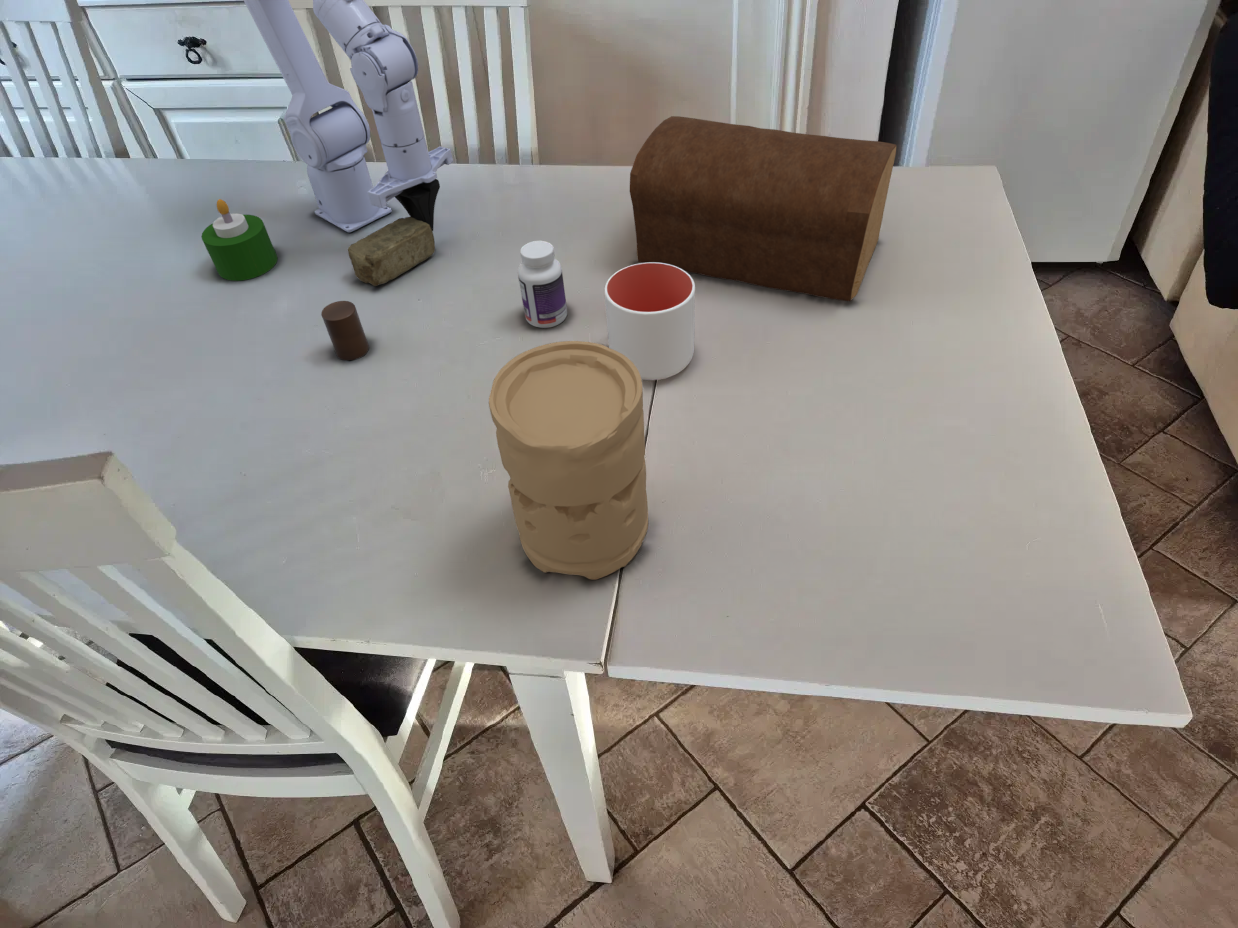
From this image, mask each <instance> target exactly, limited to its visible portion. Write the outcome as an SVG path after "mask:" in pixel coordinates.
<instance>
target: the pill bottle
mask: <svg viewBox="0 0 1238 928" xmlns="http://www.w3.org/2000/svg"><path fill="white" fill-rule="evenodd" d="M519 251H520V258H521V263H520V264H519V266H518V267H517V276H518V277H517V278H518V282H519V289H520V295H521V300H522V306H523V311H524V317H525V321H526V322H527V323H528V324H529V325H531V326H533V327H536V328H541V329H543V328H544V329H546V328H552V327H553V328H554V327H556V326H558V325H560V324H562V322H564V321H565V320H566V318H567V315H568V306H567V299H566V290H565V285H564V284H565V283H564V276H563V268H562V267H563V266H562V264H561V263H560V261H559V260H558V259H556V258H555V257H556V255H555V247H554V245H553V244H552V243H550V242H549V241H546V240H534V241H533V240H532V241H530V242H527V243H525V244H524V245H523V246H522V247H521V248H520V250H519Z"/></svg>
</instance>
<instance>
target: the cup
mask: <svg viewBox="0 0 1238 928" xmlns="http://www.w3.org/2000/svg"><path fill="white" fill-rule="evenodd" d="M603 290H604V303H605V315H606V316H605V317H606V330H607V341H608V342H607V343H608V348H610V349H613V350H615V351H617V352H619V353H621V354H623V355H625V356H626V357H627V358H628V359H629V360H631V361H632V362H633V364H634V365H635V366H636V368H637V369H638V371H639V374H640V376H641V381H658V380H659V381H660V380H665V379H668V378H671V377H673V376H675V375H677V374H679V373H680V372H682V371H683V370H684V369H685V368H686V367H688V365H689V364H690V363H691V361H692V360H693V356H694V352H695V326H696V325H695V323H696V321H695V320H696V319H695V318H696V317H695V316H696V283H695V280H694V279H693V277H692V275H690V274H689V272H687V271H684V270H682V269H681V268H678V267H676V266H673V265H670V264H665V263H656V262H648V263H641V262H638V263H635V264H631V265H628V266H625V267H623V268H621V269H619V270H617V271H615V273H613V274H612V275H611V276H609V278H608V279H607V281H606V282H605V285H604V289H603Z"/></svg>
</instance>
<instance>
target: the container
mask: <svg viewBox="0 0 1238 928" xmlns="http://www.w3.org/2000/svg"><path fill="white" fill-rule="evenodd" d="M642 381H643V380H642V379H641V376H640V374H639V371H638V369H637V368H636V366H635V365H634V364H633V362H632V361H631V360H629V359H628V358H627V357H626V356H625V355H623V354H621V353H619V352H617V351H615V350H613V349H610V348H609V346H606V345H604V344H601V343H598V342H597V343H596V342H591V341H583V340H582V341H581V340H565V341H556V342H551V343H550V342H549V343H545V344H542V345H538V346H535V347H532V348H530V349H528V350H525V351H523V352H522V353H519V354H517V355H516V356H514V357H513V358H511V359H510V360H509V361H508V362H507V363H506V364H504V365H503V366H502V367H501V368H500V370H498V372H497V374H496V375H495V377H494V378H493V381H492V385H491V389H490V393H489V396H488V408H489V412H490V416H491V419H492V422H493V424H494V426H495V428H496V429H495V430H496V431H495V436H496V441H497V447H498V451H499V457H500V461H501V464H502V467H503V469H504V470H505V471H506V472H507V474H508V476H509V478H510V479H509V480H508V482H507V488H508V492H509V496H510V501H511V508H512V512H513V517H514V521H515V526H516V529H517V532H518V534H519V535H518V536H519V540H520V543H521V547H522V549H523V551H524V554H525V555H526V556H527V558H528V559H529V561H530V562H531V564H532V565H533V566H534V567H535V568H536V569H537V570H540V571H541V572H543V573H549V572H550V573H557V574H558V573H559V574H563V575H573V576H580V577H581V576H582V577H584V578H586V579H588V580H595V581H596V580H599V579H602V578H605V577H606V576H609V575H611V574H613V573H615V572H617V571H618V570H619V569H621V568H623V567H626V566H627V565H628V564H629V563H630V561H632V560H633V558H634V557H635V556H636V554H637V553H638V552H639V549H641V547H642V545H643V541H644V540H645V538H646V535H647V533H648V529H649V507H648V495H647V466H646V458H645V456H646V440H645V439H646V438H645V417H644V415H645V414H644V399H643V398H644V395H643V392H644V391H643V382H642Z"/></svg>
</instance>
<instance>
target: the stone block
mask: <svg viewBox="0 0 1238 928" xmlns="http://www.w3.org/2000/svg"><path fill="white" fill-rule="evenodd" d="M347 252H348V253H347V254H348V258H349V259H350V262H351V265H352V269H353V272H354V275H355V277H356V278H357V279H358V280H359V281H360V282H361V283H365V284H371V285H372V286H374V287H377V286H380V285H384V284H386V283H388V282H390V281H393V280H394V279H397V278H398V277H399V276H401V275H402V274H405V273H406V272H408V271H409V270H411V269H412V268H414V267H416V266H417V265H419V264H420V263H422V262H424V261H426V260H427V259H429V258H430V257H431V256H433V255H434V253H435V252H436V245H435V236H434V231H432V230H431V227H430V225H429V224H427V223H425V222H423V221H419V220H416V219H414V218H412V217H410V216H406V217H399V218H397V219H395V220H394V221H392V222H391V223H387V224H386V225H384V226H383V227H381V228H379V229H377V230H376V231H373V232H372V233H370V234H369V235H367V236H365V237H363V238H361V239H358V240H357V241H356V242H354V243H351V244H350V245H349V246H348V247H347Z"/></svg>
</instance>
